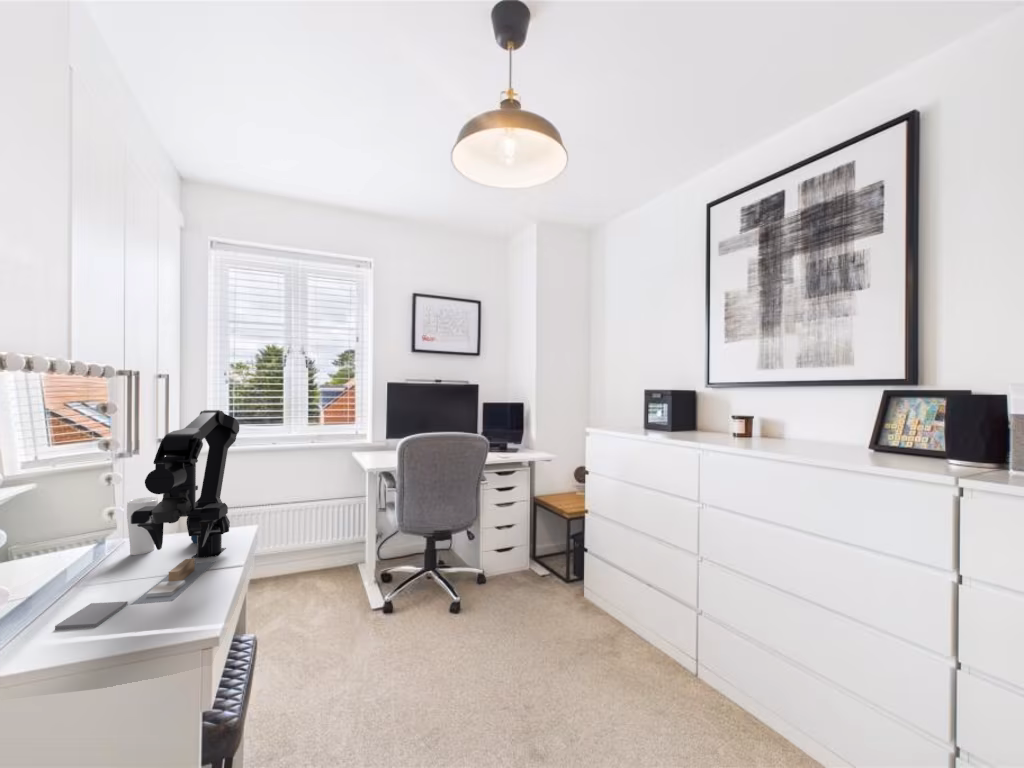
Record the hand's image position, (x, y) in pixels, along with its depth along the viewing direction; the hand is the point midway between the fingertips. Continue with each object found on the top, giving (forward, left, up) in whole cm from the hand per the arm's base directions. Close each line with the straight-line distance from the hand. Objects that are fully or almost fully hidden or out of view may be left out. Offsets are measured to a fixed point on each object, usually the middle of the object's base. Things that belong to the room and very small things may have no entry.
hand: (180, 548), depth 110 cm
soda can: (-29, -7, -8) cm, 31 cm away
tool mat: (+1, 0, -8) cm, 8 cm away
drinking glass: (-22, -20, -8) cm, 30 cm away
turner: (+1, 0, -7) cm, 8 cm away
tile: (+12, -8, -8) cm, 16 cm away
